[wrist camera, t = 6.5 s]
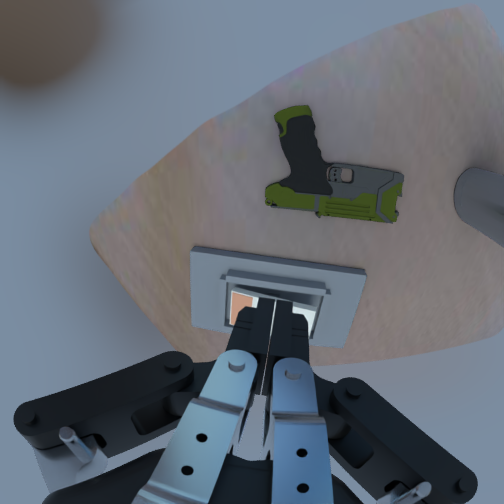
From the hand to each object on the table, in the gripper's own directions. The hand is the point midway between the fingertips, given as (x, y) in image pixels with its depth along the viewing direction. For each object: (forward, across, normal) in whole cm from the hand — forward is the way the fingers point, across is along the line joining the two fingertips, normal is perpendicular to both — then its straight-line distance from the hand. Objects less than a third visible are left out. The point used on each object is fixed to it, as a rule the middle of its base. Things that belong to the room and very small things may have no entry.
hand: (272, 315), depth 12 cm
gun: (+28, -6, -6) cm, 29 cm away
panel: (+27, 0, +16) cm, 31 cm away
